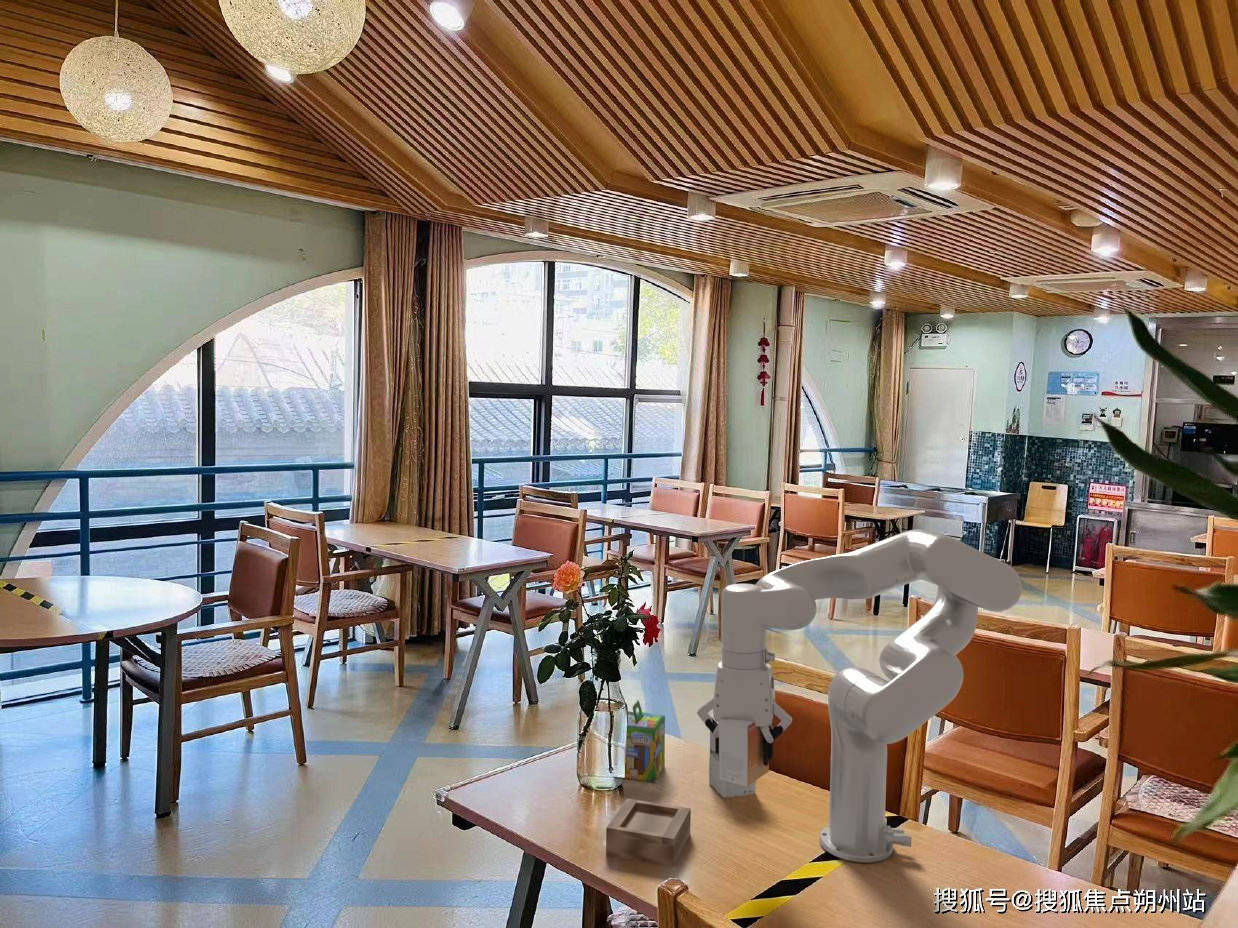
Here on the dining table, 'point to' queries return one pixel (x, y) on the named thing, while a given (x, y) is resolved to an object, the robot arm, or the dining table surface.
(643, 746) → the chalk box
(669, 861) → the walnut base brick
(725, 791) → the supplement box
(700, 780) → the dining table surface
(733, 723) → the small box
